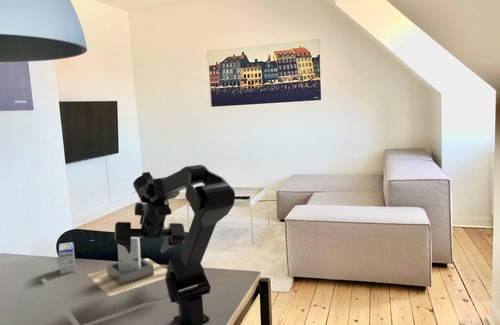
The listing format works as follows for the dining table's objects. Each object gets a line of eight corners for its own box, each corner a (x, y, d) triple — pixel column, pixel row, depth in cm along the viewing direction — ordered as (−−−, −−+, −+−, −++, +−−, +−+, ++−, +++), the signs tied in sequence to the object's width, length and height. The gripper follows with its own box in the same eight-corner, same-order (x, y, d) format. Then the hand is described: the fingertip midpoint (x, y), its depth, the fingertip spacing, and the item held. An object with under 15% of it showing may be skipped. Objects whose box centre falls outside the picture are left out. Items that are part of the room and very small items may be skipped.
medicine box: (61, 269, 132) (58, 243, 131) (75, 266, 134) (73, 241, 133) (60, 277, 125) (58, 250, 124) (76, 274, 127) (73, 248, 126)
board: (175, 278, 120) (175, 275, 120) (109, 299, 108) (109, 296, 108) (147, 260, 136) (147, 258, 136) (87, 277, 124) (87, 274, 124)
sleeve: (153, 275, 121) (153, 265, 121) (120, 285, 114) (119, 275, 114) (140, 265, 129) (139, 256, 129) (107, 274, 123) (106, 265, 122)
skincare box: (119, 278, 119) (115, 239, 118) (122, 273, 124) (119, 235, 122) (140, 277, 120) (136, 238, 118) (142, 271, 124) (139, 233, 123)
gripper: (185, 195, 116) (174, 231, 125) (118, 192, 108) (111, 230, 117) (190, 224, 108) (178, 260, 117) (118, 223, 100) (111, 261, 109)
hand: (145, 251), depth 115 cm, fingers open, 9 cm apart
